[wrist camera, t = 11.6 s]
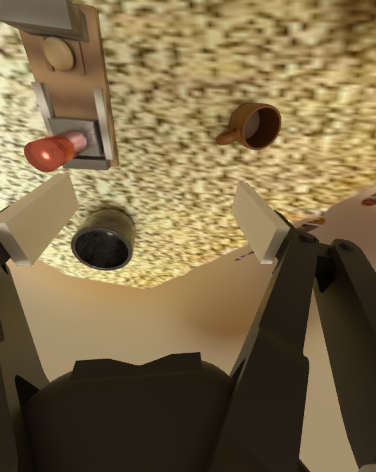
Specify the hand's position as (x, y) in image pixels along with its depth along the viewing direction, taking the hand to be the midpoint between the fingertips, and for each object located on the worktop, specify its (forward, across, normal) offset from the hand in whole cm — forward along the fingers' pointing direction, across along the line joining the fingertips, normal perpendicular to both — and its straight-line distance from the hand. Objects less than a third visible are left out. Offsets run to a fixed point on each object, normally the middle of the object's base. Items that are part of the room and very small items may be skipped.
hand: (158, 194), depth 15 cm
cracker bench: (+33, -17, +5) cm, 37 cm away
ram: (+30, -17, -1) cm, 35 cm away
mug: (+33, +16, +2) cm, 37 cm away
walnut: (+31, -17, +10) cm, 37 cm away
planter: (+33, -14, -24) cm, 43 cm away
